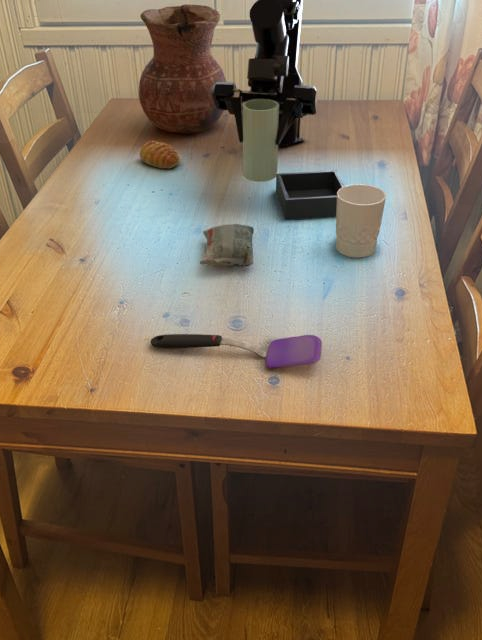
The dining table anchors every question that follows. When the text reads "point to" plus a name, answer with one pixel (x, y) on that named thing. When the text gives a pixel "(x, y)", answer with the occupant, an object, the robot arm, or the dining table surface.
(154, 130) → the dining table surface
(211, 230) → the packaged food
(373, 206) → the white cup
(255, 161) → the tumbler
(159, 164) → the pastry
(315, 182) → the tub
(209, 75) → the jug
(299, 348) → the spatula
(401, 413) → the dining table surface
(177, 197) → the dining table surface
